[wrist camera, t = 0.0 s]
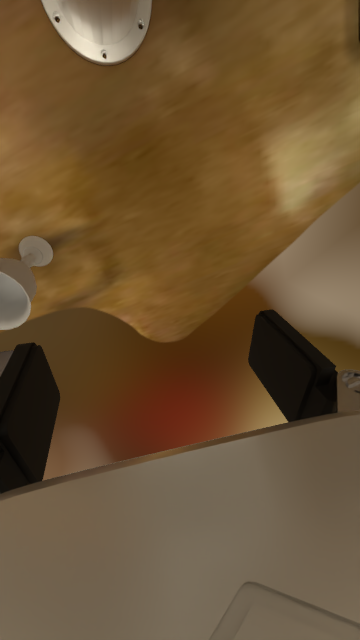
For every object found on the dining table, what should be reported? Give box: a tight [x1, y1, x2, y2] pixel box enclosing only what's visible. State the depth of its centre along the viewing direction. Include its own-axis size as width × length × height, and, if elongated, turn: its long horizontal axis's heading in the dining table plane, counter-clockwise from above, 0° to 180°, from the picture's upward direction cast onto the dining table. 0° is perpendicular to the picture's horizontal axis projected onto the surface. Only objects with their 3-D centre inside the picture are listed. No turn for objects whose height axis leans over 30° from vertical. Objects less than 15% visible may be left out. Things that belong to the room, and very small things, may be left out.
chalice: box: [0, 236, 53, 330], centre depth 34 cm, size 7×7×18 cm
